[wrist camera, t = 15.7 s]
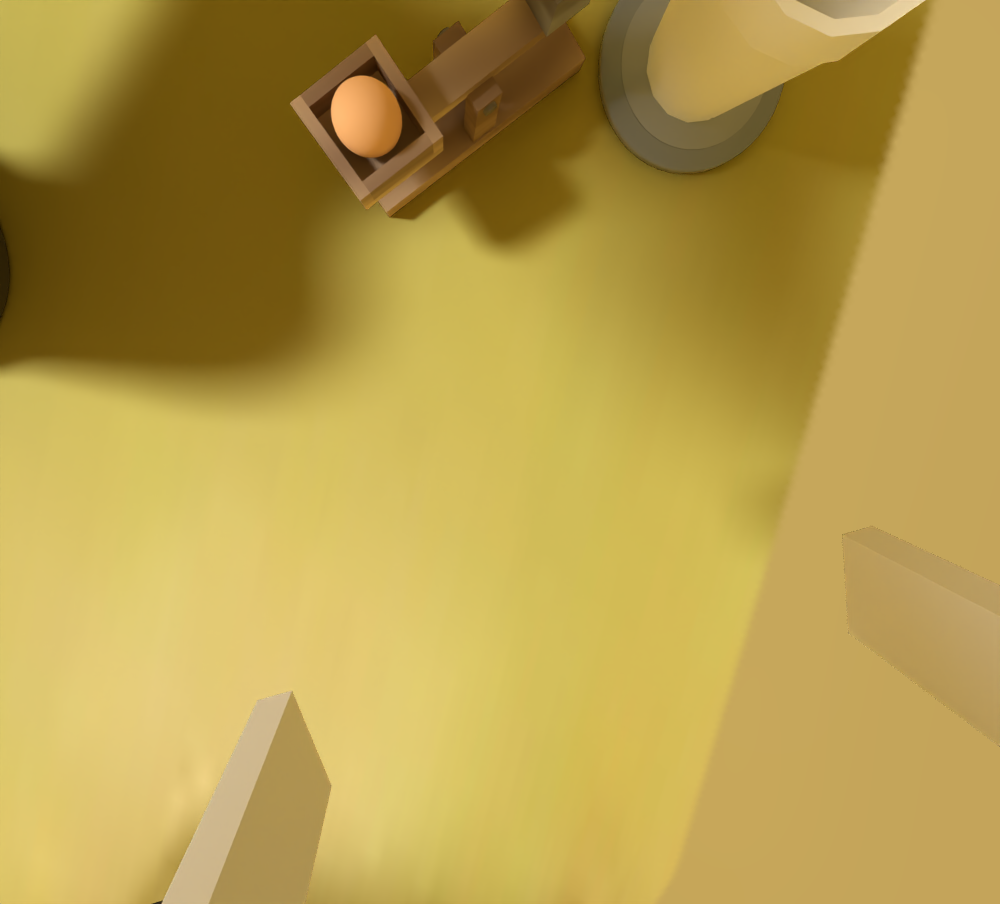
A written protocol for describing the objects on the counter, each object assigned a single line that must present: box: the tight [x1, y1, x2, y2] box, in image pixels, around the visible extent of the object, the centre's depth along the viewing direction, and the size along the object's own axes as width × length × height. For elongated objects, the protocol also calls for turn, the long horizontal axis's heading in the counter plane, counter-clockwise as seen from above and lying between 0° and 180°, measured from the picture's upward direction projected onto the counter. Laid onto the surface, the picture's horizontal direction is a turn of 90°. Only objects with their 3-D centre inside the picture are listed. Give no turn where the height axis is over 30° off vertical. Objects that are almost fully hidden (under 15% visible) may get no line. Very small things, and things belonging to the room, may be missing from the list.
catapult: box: [290, 0, 590, 217], centre depth 28 cm, size 5×16×9 cm, turn 126°
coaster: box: [598, 0, 784, 174], centre depth 32 cm, size 12×12×1 cm
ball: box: [331, 76, 402, 158], centre depth 24 cm, size 3×3×3 cm
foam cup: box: [647, 0, 925, 123], centre depth 26 cm, size 10×9×13 cm
